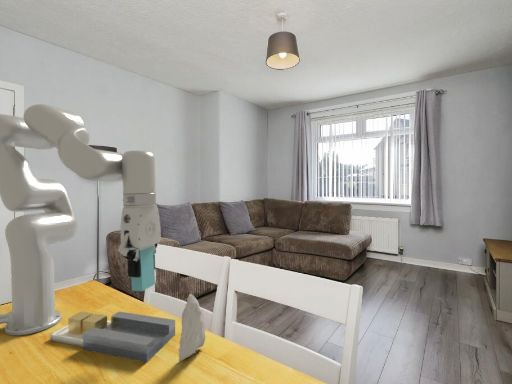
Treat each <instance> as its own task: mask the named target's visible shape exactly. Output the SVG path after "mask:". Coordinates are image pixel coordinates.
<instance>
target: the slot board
mask: <svg viewBox="0 0 512 384" xmlns="http://www.w3.org/2000/svg"><path fill="white" fill-rule="evenodd" d="M110 321H111V324H110V325H108V326H107V327H105V328H103V329H99V328H94V327H93V328H91V329H90V330H88V331H86V332H85V333H83V347H82V349H83V351H88V352H92V353H97V354H103V355H106V356H107V355H109V356H111V357H117V358H121V359H122V358H123V359H127V360H128V359H129V360H133V361H138V362H144V363H149V361H150V360H151V359H152V358H153V357H154V356H155V355H156V354H157V353H158V352H159V351H160V350H161V349H162V348H163V347H164V346H166V345H167V343H168V342H170V340H172V339H173V337H175V335H176V319H172V318H165V317H158V316H151V315H144V314H140V313H139V314H138V313H133V312H132V313H131V312H125V311H118V312H116V313H114V314H112V315H111V316H110Z"/></svg>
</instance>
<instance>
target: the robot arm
mask: <svg viewBox="0 0 512 384" xmlns="http://www.w3.org/2000/svg"><path fill="white" fill-rule="evenodd" d="M85 127H86V126H85V123H84V121H83V118H81V117H80V116H79V114H77V113H75V112H72V111H70V110H66V109H64V108H63V109H62V108H59V107H55V106H52V105H47V104H33V105H30V106H29V107H28V108H26V109H25V111H24V112H23V117H19V116H14V115H9V114H3V113H0V199H1V201H2V204H3V205H4V207H5V208H6V209H7V210H8V211H9V212H14V213H17V212H19V213H20V212H33V211H34V212H36V211H44V212H39V213H38V212H37V213H30V214H23V215H19V216H17V217H15V218H12V219H11V220H10V221H9V222H8V223H7V224H6V227H5V231H4V233H5V239H6V244H7V246H8V252H9V256H10V257H9V258H10V273H11V278H10V281H11V311H8V312H7V313H0V325H1V324H6V325H5V326H4V333H5V334H7V335H9V336H25V335H31V334H36V333H38V332H42V331H44V330H46V329H50V328H51V327H53V326H54V325H56V324H58V323H59V322H60V321H61V319H62V312H61V311H58V310H56V307H55V305H56V303H55V301H56V300H55V299H56V298H55V295H56V294H55V293H56V292H55V260H54V257H53V255H52V254H51V253H50V251H49V250H48V249H47V247H46V246H49V245H53V244H57V243H58V244H59V243H62V242H66V241H69V240H71V239H73V238H74V237H75V235H76V233H77V232H78V222H77V218H76V215H75V211H74V209H73V206H72V203H71V200H70V197H69V194H68V192H67V190H66V188H65V187H64V185H63V184H62V183H61V182H59V181H58V180H54V179H50V178H49V179H48V178H37V177H36V176H35V174H34V173H33V169H32V165H31V164H30V162H29V160H28V159H27V158H26V157H25V156H24V155H23V154H22V153H21V152H20V151H19V150H18V149H16V148H15V147H18V148H26V149H27V148H28V149H35V150H51V149H54V148H56V149H57V154H58V157H59V160H60V161H61V163H62V164H63V166H65V167H66V169H68V170H70V171H71V172H72V173H74V174H76V175H77V176H79V177H80V178H83V179H85V180H87V181H90V182H91V181H92V182H122V202H123V207H122V212H121V219H120V245H119V246H118V249H117V251H118V253H119V254H120V255H122V257H124V258H125V261H126V262H127V276H128V277H129V278H131V277H140V276H141V267H140V260H138V259H139V249H142V248H145V247H148V246H151V245H153V257H154V270H156V253H157V248H158V244H159V242H161V240H162V228H161V219H160V218H161V217H160V212H159V208H158V205H157V198H156V197H157V196H156V166H155V165H156V164H155V163H156V161H155V155H154V154H153V152H150V151H145V150H127V151H125V152H124V153H122V152H115V151H109V150H104V149H96V148H93V147H92V146H90V145H89V142H90V134H89V131H88V130H87V129H86V128H85ZM132 246H133V247H132ZM135 247H136V248H135ZM132 250H135V251H134V254H133V253H132Z"/></svg>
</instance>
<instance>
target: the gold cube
mask: <svg viewBox="0 0 512 384" xmlns="http://www.w3.org/2000/svg"><path fill="white" fill-rule="evenodd" d="M107 320H108V315H104V314H99V313H93V315H92V316H90V317H88V318H87V319H85V320H83V333H85V332H86V331H88V330H90V329H91V328H93V327H94V328H99V329H103V328H105V327H107Z"/></svg>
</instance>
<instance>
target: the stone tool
mask: <svg viewBox="0 0 512 384" xmlns="http://www.w3.org/2000/svg"><path fill="white" fill-rule="evenodd" d="M186 299H187V300H186V304H185V307H184V309H183V311H182V313H181V333H180V338H179V348H178V359H179V362H181V361H183V360H185V359H186V358H189V357H191V356H192V355H193V354H195V353H196V351H197V350H198V349H200V348H201V347H203V346H204V344H205V342H206V327H205V326H206V325H205V317H204V313H203V309H202V308H201V306H200V303H199V300H198V299H197V298H196V297H195V296H194V295H193V294H192V293H190V294H189V295H188V297H187V298H186Z"/></svg>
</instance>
